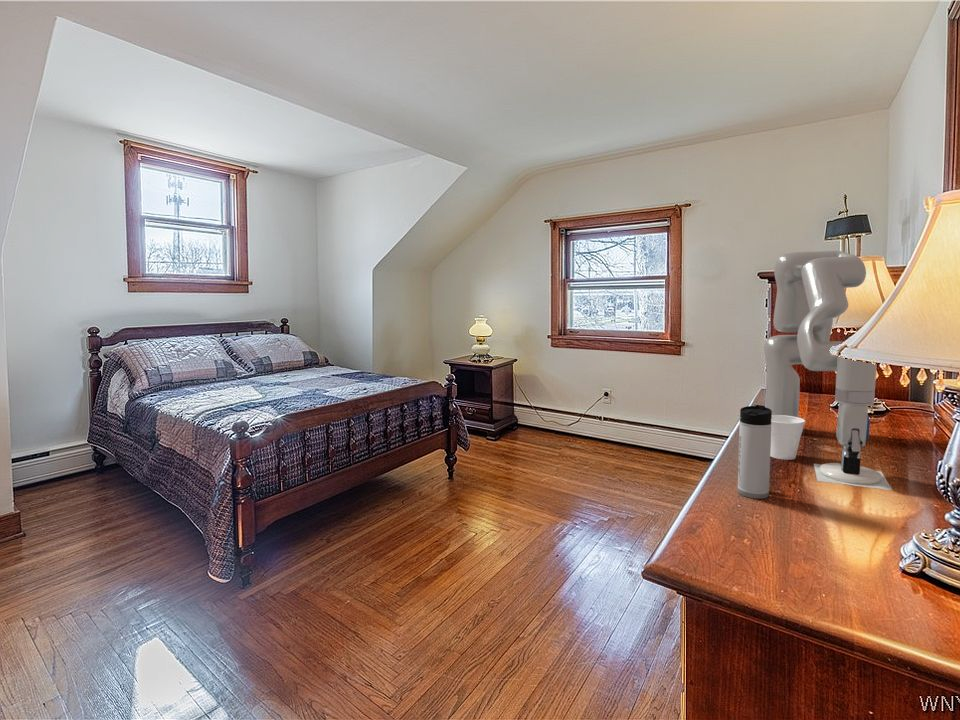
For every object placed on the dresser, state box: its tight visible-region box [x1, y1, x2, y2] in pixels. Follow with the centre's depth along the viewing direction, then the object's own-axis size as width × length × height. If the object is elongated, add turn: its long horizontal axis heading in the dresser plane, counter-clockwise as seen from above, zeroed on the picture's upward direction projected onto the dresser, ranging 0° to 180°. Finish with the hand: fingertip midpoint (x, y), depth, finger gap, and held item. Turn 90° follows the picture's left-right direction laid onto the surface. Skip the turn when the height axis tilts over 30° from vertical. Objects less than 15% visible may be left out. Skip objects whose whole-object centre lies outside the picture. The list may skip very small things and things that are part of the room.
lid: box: [820, 448, 882, 484], centre depth 121 cm, size 12×12×6 cm
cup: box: [770, 415, 806, 461], centre depth 137 cm, size 10×10×11 cm
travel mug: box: [737, 404, 772, 500], centre depth 112 cm, size 6×7×20 cm
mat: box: [813, 463, 894, 491], centre depth 121 cm, size 14×14×1 cm
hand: (849, 470), depth 121 cm, fingers closed on lid, 3 cm apart
